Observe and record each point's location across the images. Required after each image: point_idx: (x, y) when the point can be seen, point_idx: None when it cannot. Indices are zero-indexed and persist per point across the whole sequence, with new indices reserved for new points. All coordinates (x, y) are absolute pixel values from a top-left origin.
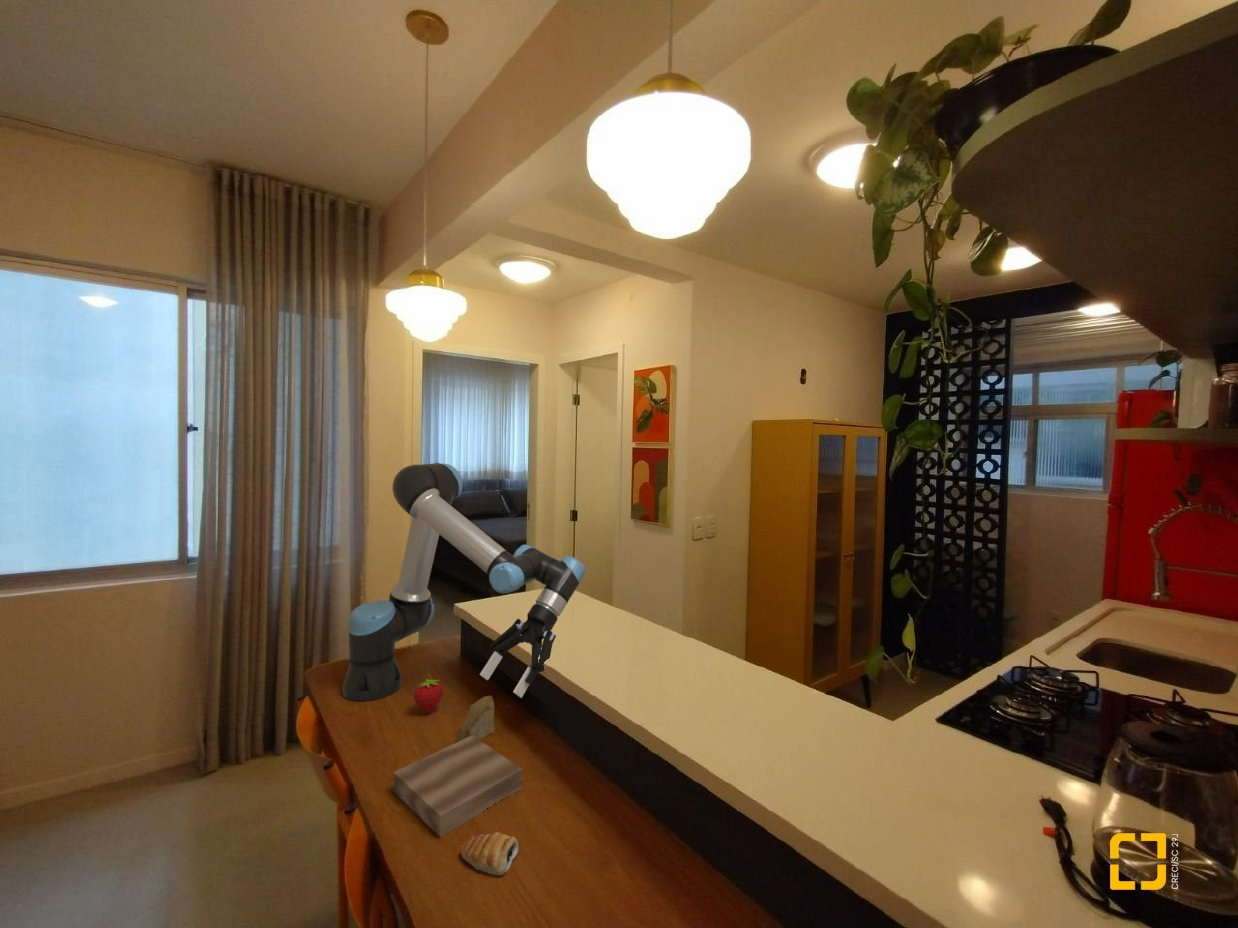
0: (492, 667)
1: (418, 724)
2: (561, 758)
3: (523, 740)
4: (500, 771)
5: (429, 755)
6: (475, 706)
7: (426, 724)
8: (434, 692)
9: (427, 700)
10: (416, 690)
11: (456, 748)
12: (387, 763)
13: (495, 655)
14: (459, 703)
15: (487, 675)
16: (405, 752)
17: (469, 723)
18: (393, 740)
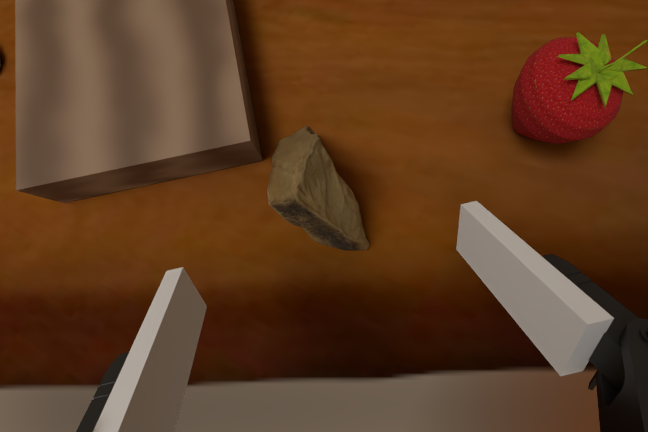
0: (495, 277)
1: (469, 91)
2: (88, 342)
3: (229, 293)
4: (49, 142)
5: (230, 28)
6: (303, 147)
7: (458, 107)
8: (537, 90)
9: (518, 81)
10: (576, 38)
11: (215, 87)
12: (336, 4)
13: (559, 309)
14: (535, 216)
15: (467, 245)
16: (356, 40)
17: (288, 139)
18: (423, 30)
